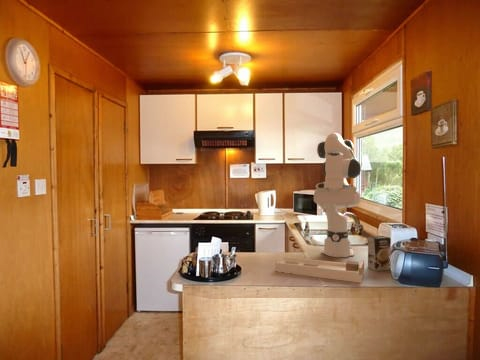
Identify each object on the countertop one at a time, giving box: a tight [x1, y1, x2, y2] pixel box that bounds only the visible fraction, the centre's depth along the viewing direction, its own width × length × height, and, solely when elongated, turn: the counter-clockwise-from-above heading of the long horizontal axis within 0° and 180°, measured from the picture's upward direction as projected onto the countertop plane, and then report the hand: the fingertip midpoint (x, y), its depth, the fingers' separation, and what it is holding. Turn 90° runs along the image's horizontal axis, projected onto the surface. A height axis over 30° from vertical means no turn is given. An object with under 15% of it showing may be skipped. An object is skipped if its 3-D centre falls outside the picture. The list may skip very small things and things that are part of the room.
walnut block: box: [345, 260, 359, 272], centre depth 157 cm, size 5×5×4 cm
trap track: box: [275, 256, 365, 283], centre depth 164 cm, size 13×40×6 cm, turn 64°
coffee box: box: [367, 235, 392, 272], centre depth 170 cm, size 9×6×16 cm
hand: (334, 212), depth 167 cm, fingers open, 8 cm apart
